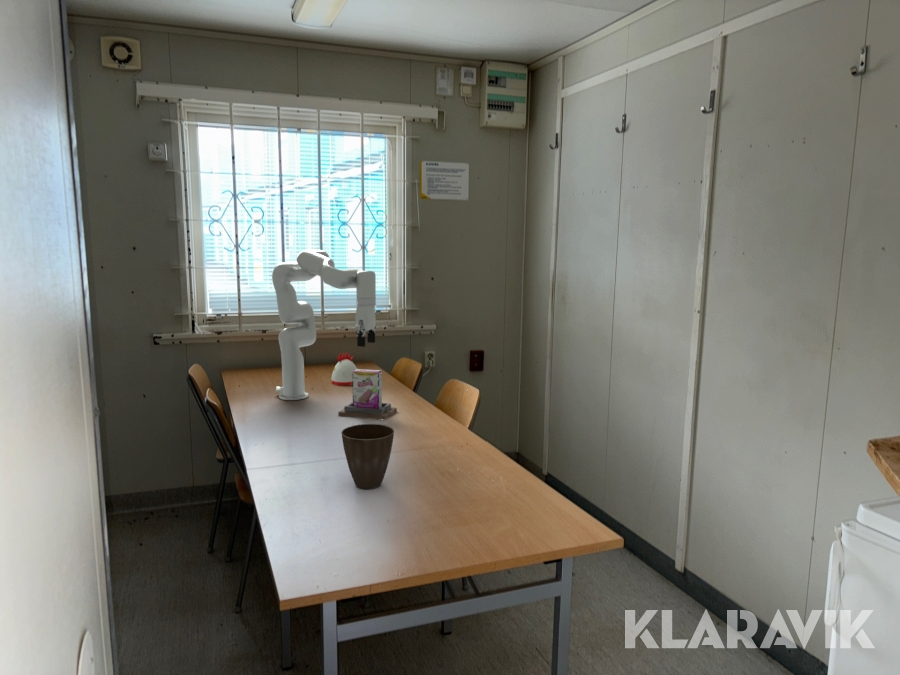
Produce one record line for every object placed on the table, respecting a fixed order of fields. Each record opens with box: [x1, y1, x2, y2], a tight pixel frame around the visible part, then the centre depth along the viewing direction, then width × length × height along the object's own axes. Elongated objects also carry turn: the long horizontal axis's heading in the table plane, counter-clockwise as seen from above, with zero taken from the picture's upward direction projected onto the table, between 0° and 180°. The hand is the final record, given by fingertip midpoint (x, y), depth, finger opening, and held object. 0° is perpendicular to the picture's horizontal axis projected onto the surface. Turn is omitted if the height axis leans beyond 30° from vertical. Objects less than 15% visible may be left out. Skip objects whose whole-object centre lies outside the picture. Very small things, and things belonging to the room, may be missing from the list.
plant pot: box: [341, 423, 395, 490], centre depth 178 cm, size 15×15×16 cm
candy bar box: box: [352, 368, 383, 409], centre depth 250 cm, size 11×5×16 cm, turn 82°
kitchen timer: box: [330, 352, 358, 386], centre depth 305 cm, size 14×14×15 cm
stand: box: [338, 401, 398, 421], centre depth 251 cm, size 13×20×4 cm, turn 74°
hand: (366, 344), depth 248 cm, fingers open, 9 cm apart
